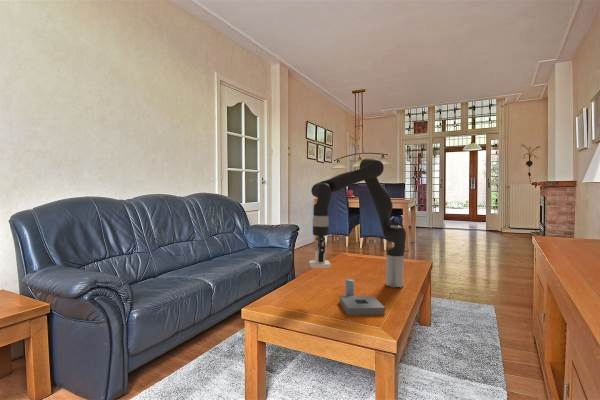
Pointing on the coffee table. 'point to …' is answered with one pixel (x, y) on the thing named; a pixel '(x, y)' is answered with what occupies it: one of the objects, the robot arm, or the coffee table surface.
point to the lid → (318, 264)
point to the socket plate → (362, 305)
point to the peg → (349, 287)
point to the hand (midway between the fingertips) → (320, 260)
